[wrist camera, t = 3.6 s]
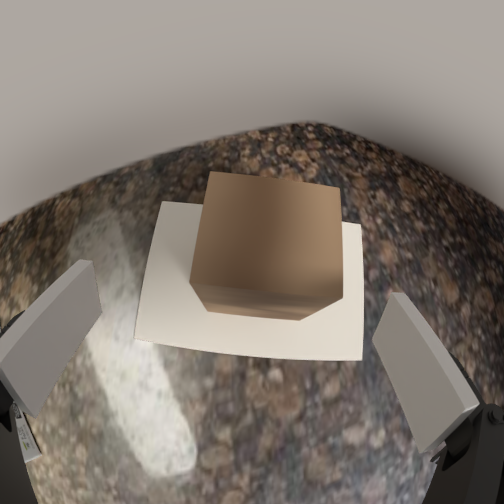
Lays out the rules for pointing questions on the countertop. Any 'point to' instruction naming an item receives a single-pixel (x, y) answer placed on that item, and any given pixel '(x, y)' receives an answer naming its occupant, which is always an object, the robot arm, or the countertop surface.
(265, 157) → the countertop surface
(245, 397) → the countertop surface
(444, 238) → the countertop surface
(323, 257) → the walnut block
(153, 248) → the tile
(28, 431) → the tea box
